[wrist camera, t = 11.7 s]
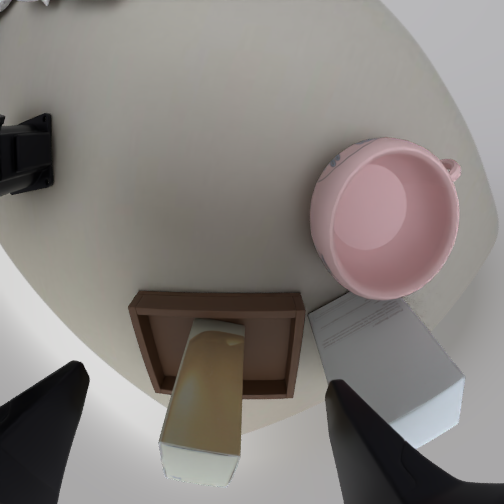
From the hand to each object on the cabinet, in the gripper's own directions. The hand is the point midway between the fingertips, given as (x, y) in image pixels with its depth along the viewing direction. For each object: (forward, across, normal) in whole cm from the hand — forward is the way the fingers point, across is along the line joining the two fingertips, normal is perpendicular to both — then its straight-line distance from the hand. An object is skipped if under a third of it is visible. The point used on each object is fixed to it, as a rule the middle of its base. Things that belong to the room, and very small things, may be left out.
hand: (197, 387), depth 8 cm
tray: (+13, +1, +9) cm, 16 cm away
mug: (+13, -11, -4) cm, 18 cm away
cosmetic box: (+12, +1, +9) cm, 15 cm away
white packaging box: (+13, -12, +7) cm, 19 cm away
